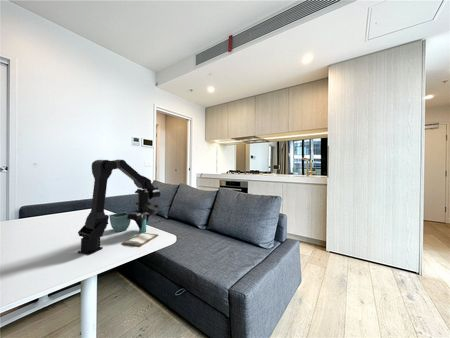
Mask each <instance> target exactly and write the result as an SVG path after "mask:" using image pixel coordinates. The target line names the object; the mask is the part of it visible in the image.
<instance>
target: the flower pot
mask: <svg viewBox="0 0 450 338" xmlns="http://www.w3.org/2000/svg"><path fill="white" fill-rule="evenodd" d="M128 214H129V213H128V212H125V211H124V212H118V213H112V214H108V215H109V223H110V227H111V228H112V229H113V230H114V232H115V231H116V232H118V233H119V232H123V231H127V229H129V227H130V224H131V220H132V219H127V215H128Z"/></svg>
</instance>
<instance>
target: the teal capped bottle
mask: <svg viewBox="0 0 450 338" xmlns="http://www.w3.org/2000/svg"><path fill="white" fill-rule="evenodd" d="M143 217H145V218H144V219H143V221H142V229H139V228H138V232H139V234H140V233H147V225H146V219H147V216H146V215H143Z"/></svg>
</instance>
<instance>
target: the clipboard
mask: <svg viewBox="0 0 450 338" xmlns="http://www.w3.org/2000/svg"><path fill="white" fill-rule="evenodd" d="M157 237H159V234H156V233H148V232H145V233H139V234H136V235H134V236H133V237H131V238H129V239H127V240H125V241H122V242H121V245H125V246H133V247H142V246H144V245H145V244H147V243H149V242H150V241H152V240H153V239H155V238H157Z"/></svg>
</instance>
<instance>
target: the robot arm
mask: <svg viewBox="0 0 450 338" xmlns="http://www.w3.org/2000/svg"><path fill="white" fill-rule="evenodd" d="M113 170H119V171H120V172H122V173H123V174H124V175H126V176H127V177H129V179H131V181H133V184H134V185H135V186H136V187H137V189H136V190H135V191H134V193H135V194H137V202H136V203H135V205H136V206H137V209H136V210H135V211H133V212H130V213H128V215H127V219H131V220H133V221H135V223H136V226H137V228H138V230H139V229H142V221H143V219H144V218H145V217H143V215H146V216H147V219H146V226H147V225H148V222H149V220H150V217H152V216H155V215H157V214H158V211H159V212H160V205H159V204H154V205H152V203H151V201H150V200H156V199H159V198H160V197H161V191H160V189H159V187H156V186H155V187H154V185H153V183H152V180H151V179H150V178H149V177H146V176H144V175H141V174H140V173H139V172H137V171H136V170H135V169H134V167H132V166H131V165H129V164H128V163H127V161H126V160H124V159H113V160H109V159H96V160H94V161H92V163H91V174H92V176H93V179H94V182H93V192H92V198H91V199H92V200H91V208H90V212H89V214H88V215H87V217H86V219H85V222H84V225H83V226H82V227H81V228H80V229H79V230H78V232H77V234H78V236H79V237H80V249H79V250H78V251H77V253H78V254H85V255H92V254H94V253H96V252H98V251H100V250H102V249H103V246H101V237H103V235H104V232H105V230H106V229H107V226H108V225H109V220H110V217H109V215H110V214H106V212H105V204H106V198H107V197H106V196H107V195H106V194H107V185H108V181H109V178H110V177H111V175H112V173H113ZM81 237H82V238H81Z"/></svg>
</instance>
